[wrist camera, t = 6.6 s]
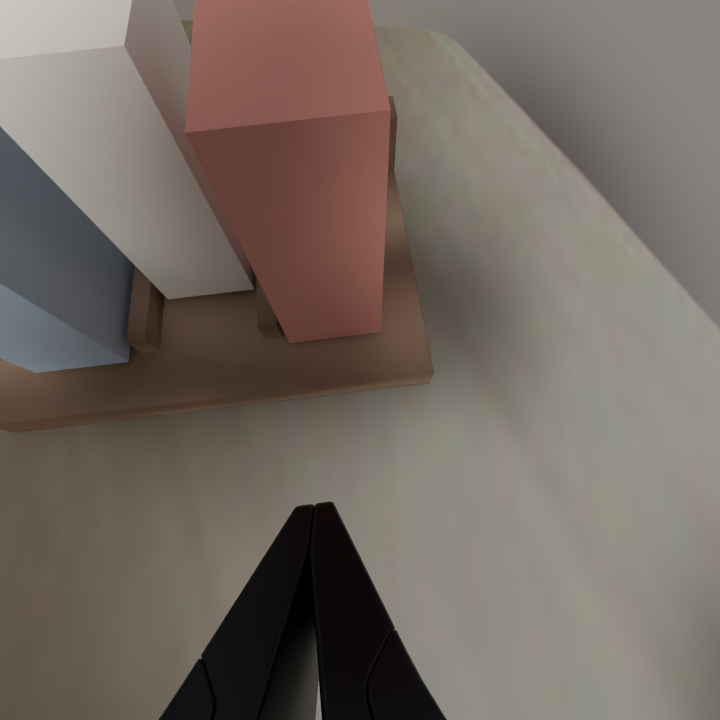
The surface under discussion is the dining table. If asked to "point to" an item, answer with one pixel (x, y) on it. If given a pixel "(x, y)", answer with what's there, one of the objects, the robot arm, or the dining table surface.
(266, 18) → the red rectangular block
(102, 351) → the light blue tall block
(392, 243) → the wooden block stand
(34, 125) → the white tall block
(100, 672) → the dining table surface
